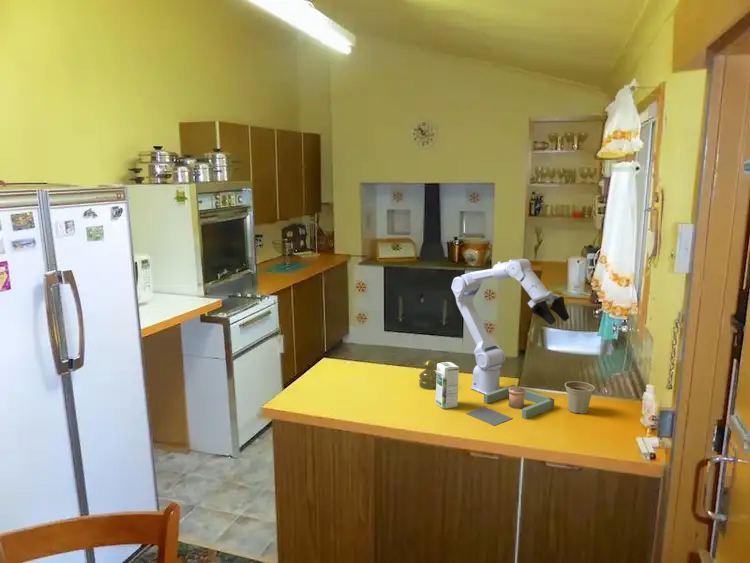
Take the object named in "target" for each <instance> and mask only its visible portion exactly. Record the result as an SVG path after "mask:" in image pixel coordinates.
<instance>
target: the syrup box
mask: <svg viewBox="0 0 750 563" xmlns="http://www.w3.org/2000/svg"><path fill="white" fill-rule="evenodd" d="M436 373H437V379H436V389H435V404H436V406H439V407H440V408H441V409H442V410H446V409H451V408H457V407H458V398H459V396H458V395H459V379H460V378H459V375H460V374H459V373H460V367H459V366H458V365H456V363H453V362H452V361H445V362H444V361H443V362H439V363H436Z"/></svg>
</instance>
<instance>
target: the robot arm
mask: <svg viewBox="0 0 750 563" xmlns="http://www.w3.org/2000/svg"><path fill="white" fill-rule="evenodd" d="M532 268H533V267H532V264H531V262H530V260H528V259H526V258H520V259H519V258H518V259H513V258H512V259H509V261H505V262H504V261H501V260H500V261H497V263H496V264H494V265H493V267H492V268H489V269H483V270H477V271H471V272H468V273H465V274H461V275H460V276H456V277H454V278H453V280H452V283H451V287H450V288H451V290H452V292H453V294H454V297H455V302H456V305H457V308H458V310H459V311H460V314H461V317H463V320H464V322H465V324H466V326H467V329H468V330H469V332H470V334H471V337H472V338H473V341H474V343H475V345H476V347H475V349H474V351H473V354H474V356H475V362H476V365H475V367H474V368H473V371H472V386H471V387H470V389H471V390H473V391H476V392H478V393H481V394H483V395H484V394H487V393H490V392H493V391H496V390H499V389H501V388H500V377H501V368H502V365H503V364H504V362H505V359H506V354H505V352H504V350H503V349H502V348H500V346H499V344H498V343H497V342H496V341H494V340H492V339H491V337H490V336H489V333H488V331H487V330H486V328H485V325H484V323H483V321H482V319H481V317H480V315H479V312H478V311H477V308H476V307H475V306H474V303H473V301H474V299H475V297H476V296H477V294H478V292H479V290H480V289H481V285H482V284H483V282H484V281H483V280H487V279H491V278H495V279H496V280H498V281H500V280H501V281H502V280H506V279H511V278H512V279H513V278H514V279H515V280H516V281H518V282H519V285H521V286H522V288H523V289H524V291H525V292H526V293H527V294H528V296H529V297H530V298H531V299H529V301H528V302H527V305H528V307H530V309H531V310H530V311H531V313H532V314H533V315H537V316H538V317H540V318H541V319H542V320H544V321H545V322H546V323H548V325H550V326H551V325H553V324H554V323H555V322H556V318H555V317H554V315H553V314H552V312H554V313H555V314H556V315H557V316H558V317H559V318H560V319H561V320H562V321H563V322H567V321H568V320H569V319H570V318H571V317H570V315H569V313H568V310H567V308H566V305H565V298H564V297H563V296H560V295H559V294H555V293H554V291H552V290H550V291H549V290H548V289H547V287H546V286H545V285H544V284H543V282H542V281H541V280H540V279H539V277H538V276H537V274H536V273H535V272H534V271H533V269H532ZM548 304H551V306H550V307H548ZM551 311H552V312H551Z"/></svg>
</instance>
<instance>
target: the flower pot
mask: <svg viewBox="0 0 750 563" xmlns="http://www.w3.org/2000/svg"><path fill="white" fill-rule="evenodd" d="M564 387H565V390H566V395H567V396H566V398H567V410H568V411H569V412H571V413H574V414H576V413H577V414H578V413H579V414H580V415H583V414H587V413H588V412H589V406H590V403H591V398H592V394H593V393H594V391H595V389H596V388H595V386H594V385H593V384H590V383H588V382H585V381H584V382H583V381H576V380H575V381H566V382H565V383H564Z"/></svg>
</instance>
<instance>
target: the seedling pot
mask: <svg viewBox="0 0 750 563" xmlns="http://www.w3.org/2000/svg"><path fill="white" fill-rule="evenodd" d="M516 386H517V385H515V386H514V387H509V396H508V407H510V408H511V409H513V410H514V409H515V410H522V409H523V408H525V406H524V405H525V399H524V394H525V392H526V390H527V389H526V388H524V387H521V386H518V387H516ZM525 389H526V390H525ZM521 408H522V409H521Z"/></svg>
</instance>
